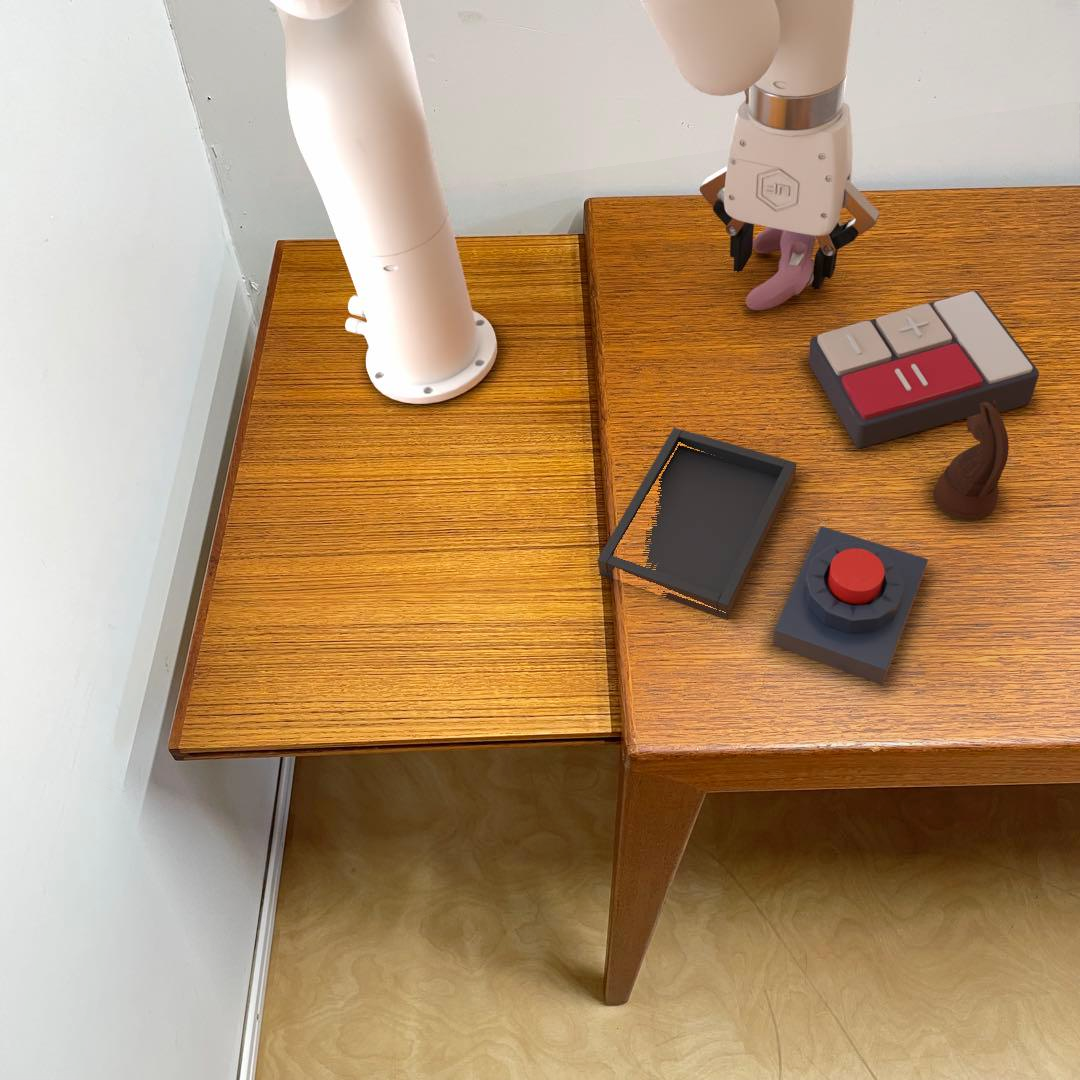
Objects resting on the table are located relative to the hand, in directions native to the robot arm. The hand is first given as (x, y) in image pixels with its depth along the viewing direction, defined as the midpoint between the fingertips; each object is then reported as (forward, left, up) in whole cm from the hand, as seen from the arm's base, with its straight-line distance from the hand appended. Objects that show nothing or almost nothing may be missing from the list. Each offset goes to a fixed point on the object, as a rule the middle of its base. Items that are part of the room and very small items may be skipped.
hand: (781, 270), depth 94 cm
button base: (+17, -33, -1) cm, 37 cm away
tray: (+4, -30, -1) cm, 30 cm away
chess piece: (+22, -20, -1) cm, 30 cm away
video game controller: (0, 0, -1) cm, 1 cm away
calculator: (+15, -9, -1) cm, 18 cm away
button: (+17, -33, +2) cm, 37 cm away
